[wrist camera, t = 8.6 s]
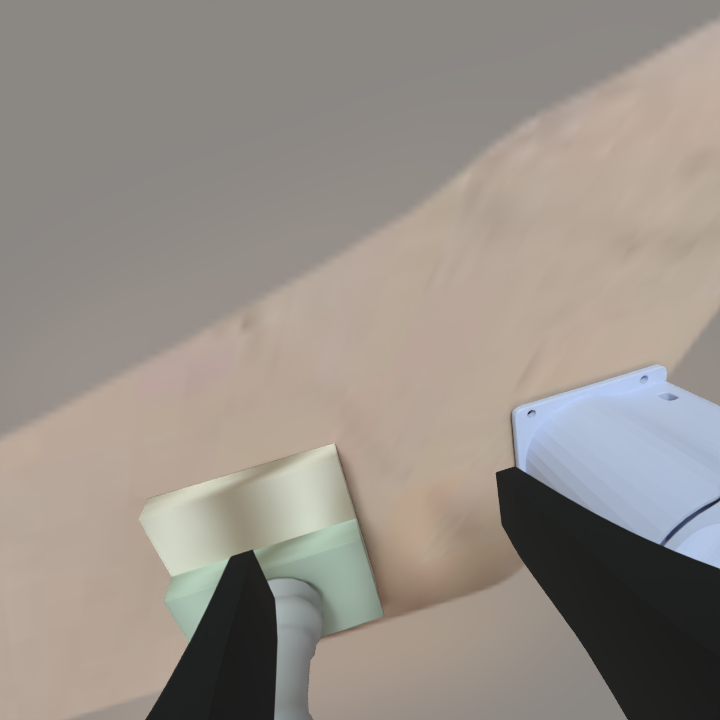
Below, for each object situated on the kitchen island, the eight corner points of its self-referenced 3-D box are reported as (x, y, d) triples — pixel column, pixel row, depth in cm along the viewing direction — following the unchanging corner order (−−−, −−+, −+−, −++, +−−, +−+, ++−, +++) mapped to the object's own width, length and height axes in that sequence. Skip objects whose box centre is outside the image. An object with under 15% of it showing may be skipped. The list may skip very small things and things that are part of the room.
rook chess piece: (324, 625, 22) (345, 833, 15) (240, 641, 22) (219, 868, 14) (319, 564, 21) (340, 764, 13) (228, 579, 20) (197, 800, 13)
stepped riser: (334, 443, 22) (342, 477, 19) (373, 571, 26) (384, 616, 23) (147, 499, 21) (127, 543, 18) (217, 623, 25) (209, 675, 22)
